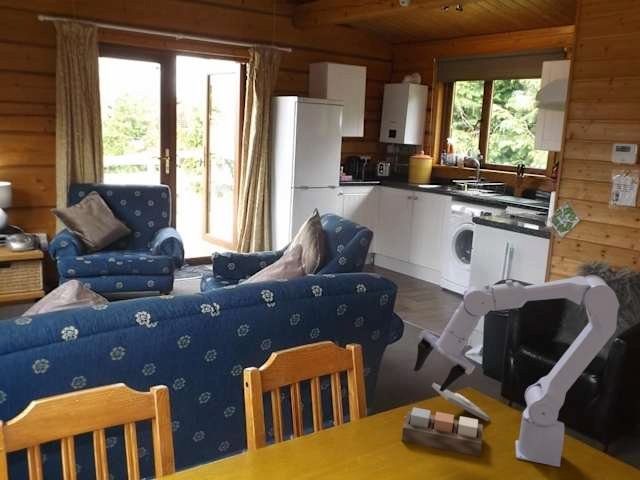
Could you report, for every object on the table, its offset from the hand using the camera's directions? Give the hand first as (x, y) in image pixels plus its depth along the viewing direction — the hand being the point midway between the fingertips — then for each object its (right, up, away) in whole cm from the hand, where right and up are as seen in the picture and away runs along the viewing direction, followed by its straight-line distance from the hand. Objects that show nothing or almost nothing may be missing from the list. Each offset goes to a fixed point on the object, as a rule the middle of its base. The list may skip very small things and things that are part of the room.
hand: (429, 380), depth 143 cm
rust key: (+3, -12, +1) cm, 12 cm away
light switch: (+10, -13, +14) cm, 21 cm away
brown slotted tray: (+3, -15, +1) cm, 15 cm away
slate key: (-2, -11, +2) cm, 12 cm away
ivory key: (+9, -12, -1) cm, 15 cm away
